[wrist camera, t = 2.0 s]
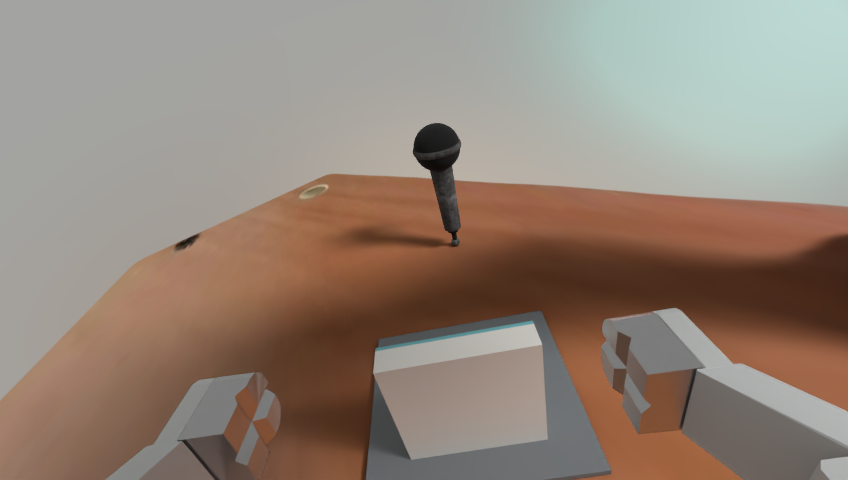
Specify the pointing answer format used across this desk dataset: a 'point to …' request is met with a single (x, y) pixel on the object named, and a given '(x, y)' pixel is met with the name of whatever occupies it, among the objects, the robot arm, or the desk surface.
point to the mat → (507, 465)
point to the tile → (465, 390)
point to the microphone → (441, 169)
